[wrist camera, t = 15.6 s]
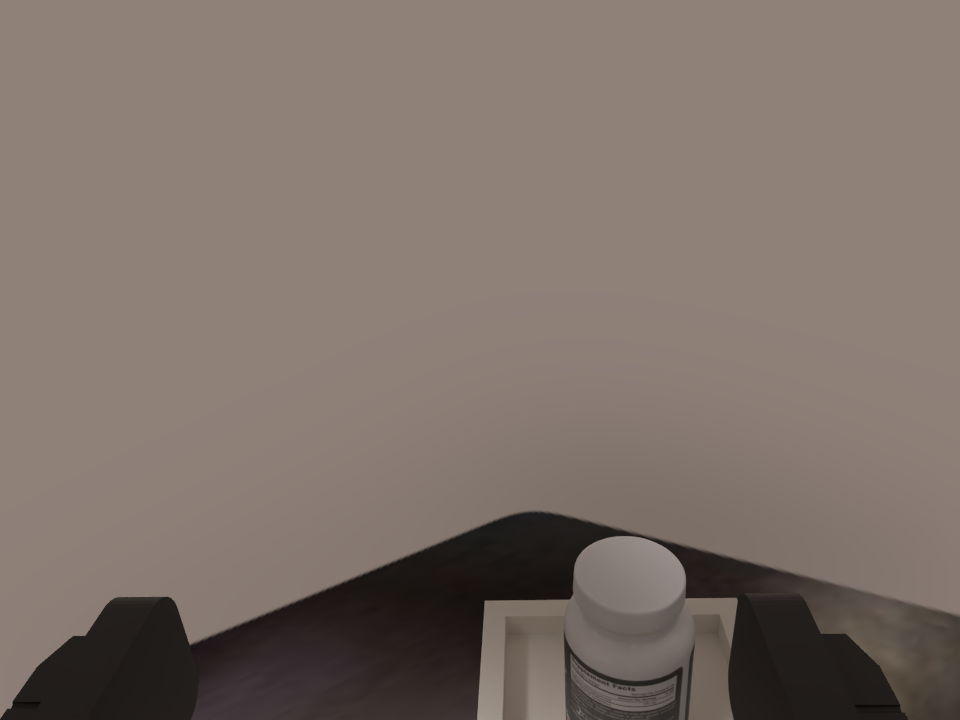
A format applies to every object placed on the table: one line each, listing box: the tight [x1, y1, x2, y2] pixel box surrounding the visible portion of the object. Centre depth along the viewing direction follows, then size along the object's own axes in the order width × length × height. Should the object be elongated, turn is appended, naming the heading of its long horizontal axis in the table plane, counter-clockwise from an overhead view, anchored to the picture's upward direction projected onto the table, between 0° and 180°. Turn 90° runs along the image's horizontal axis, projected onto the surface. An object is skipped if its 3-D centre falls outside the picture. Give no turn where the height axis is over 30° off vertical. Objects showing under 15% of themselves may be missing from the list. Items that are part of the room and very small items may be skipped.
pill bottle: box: [564, 536, 695, 720], centre depth 33 cm, size 6×6×10 cm
